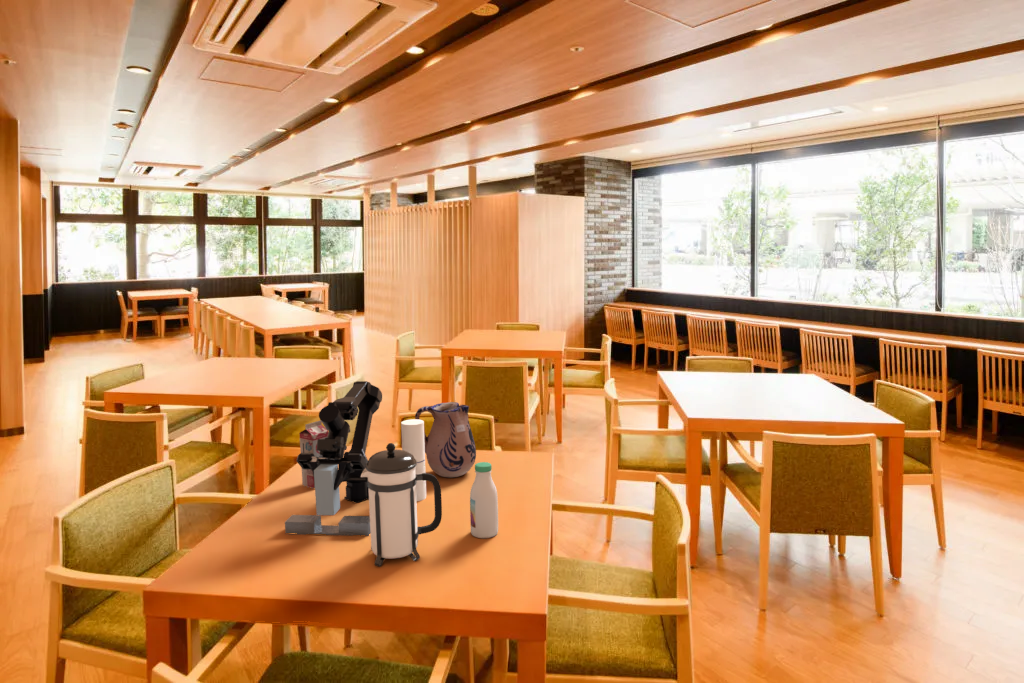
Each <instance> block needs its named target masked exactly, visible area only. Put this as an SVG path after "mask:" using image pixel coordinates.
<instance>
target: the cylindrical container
mask: <svg viewBox="0 0 1024 683" xmlns="http://www.w3.org/2000/svg"><path fill="white" fill-rule="evenodd" d="M419 419H420V418H419ZM419 419H415V418H413V419H412V418H411V419H406V420H403V421H401V422H400V427H401V429H400V430H401V450H404V451H407V452H409V453H411V454H412V455H413V456H414V459H416V461H417V465H416V467H415V473H416V474H422V473H427V472H426V453H425V442H424V432H425V421H424V420H423V419H420V420H419ZM426 499H427V480H424V481H423V480H418V481H417V483H416V501H417V502H420V501H424V500H426Z"/></svg>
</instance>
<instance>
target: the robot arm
mask: <svg viewBox="0 0 1024 683" xmlns="http://www.w3.org/2000/svg"><path fill="white" fill-rule="evenodd" d="M381 402H383V392H382V391H381V389H380V388H379V387H377V386H376V385H373V384H372V383H371V382H370V381H367V380H364V381H363V380H360V381H358V380H357V381H355V382H353V384H352V387H351V388H350V389H349V391H348V392H347V393H346V394H345V395H344V396H343V397H341V398H338V399H335V400H334V401H332V402H329V401H328V403H327V405H325V406H324V407H322V409H320V411H319V412H318V418H319V421H320V420H321V422H322V426H324V427H325V428H326V429H327V430H328V436H327V438H325V439H318V440H317V450H316V451H320V455H323V457H315V456H314V455H313V453H301V452H299V453H298V454H297V457H296V463H297V464H298V465H299V466H300V468H301V470H302V469H310V470H312V471H313V476H314V470H315V469H316V468H317V467H318V466H319V465H320V464H338V472H337V476H336V479H335V483H334V490H336V489H337V488H338V487H339V488H340V486H341V484H342V483H346V486H345V496H344V499H345V500H347V501H350V502H352V503H355V504H358V503H361V502H363V501H365V500H369V489H368V487H367V478H368V477H361V474H362V472H363V470H364V469H365V468H366V463H367V462H368V460H369V458H368V457H367V454H366V452H367V451H366V450H367V446H368V440H369V436H370V431H371V424H372V421H373V420H372V418H373V415H374V414H375V413H376V412H377V411H378V410H379V408H380V405H381ZM356 417H357V418H356ZM355 418H356V419H357V420H356V423H355V428H354V432H353V433H354V434H353V438H352V443H351V448H350V450H349V451H347V449H348V448H347V447H348V446H347V442H348V439H349V438H348V437H349V433H351V427H350V424H349V423H348V421H353V420H355ZM314 485H315V481H314Z"/></svg>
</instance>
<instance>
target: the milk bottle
mask: <svg viewBox="0 0 1024 683" xmlns="http://www.w3.org/2000/svg"><path fill="white" fill-rule="evenodd" d="M492 470H493V468H492V464H491V463H490V462H487V461H479V462H477V463H474V472H475V478H474V480H473V483H472V485H471V487H470V488H471V489H470V493H469V494H470V496H469V507H470V508H469V509H470V510H469V511H470V512H469V513H470V514H469V515H470V518H469V519H470V520H469V521H470V533H471V536H473V537H475V538H478V539H489V538H493V537H495V536H497V535H498V533H499V502H498V501H499V500H498V499H499V498H498V490H497V487H496V484H495V482H494V480H493V478H492Z"/></svg>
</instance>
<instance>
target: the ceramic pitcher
mask: <svg viewBox="0 0 1024 683" xmlns="http://www.w3.org/2000/svg"><path fill="white" fill-rule="evenodd" d="M469 409H470V406H469V405H467V404H460V403H459V402H455V401H450V402H441V403H437V404H434V405H425V406H422V407H420V408H418V409H417V411H416V413H415V414H414V417H415V418H414V419H419V420H421V419H420V416H421V414H422V413H426V412H428V413H429V414H431V416H432V418H433V422H432V425H431V428H430V431H429V433H428V435H426V433H425V431H424V442H425V457H426V461H427V464H428V466H429V468H430V469H431V470H432V471H433V472H434V473H435V474H437V475H438V476H439V477H443V478H450V479H451V478H459V477H461V476H463V475H466V474H467V473H468V472H469V471H470V470H471V469H472V467H473V466H474V465H475V462H476V458H477V450H476V443H475V440H474V436H473V432H472V428H471V425H470V421H469Z"/></svg>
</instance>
